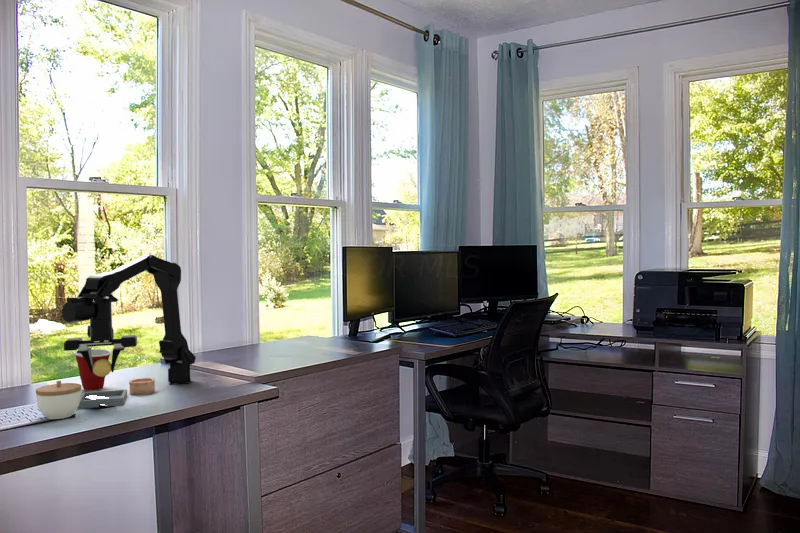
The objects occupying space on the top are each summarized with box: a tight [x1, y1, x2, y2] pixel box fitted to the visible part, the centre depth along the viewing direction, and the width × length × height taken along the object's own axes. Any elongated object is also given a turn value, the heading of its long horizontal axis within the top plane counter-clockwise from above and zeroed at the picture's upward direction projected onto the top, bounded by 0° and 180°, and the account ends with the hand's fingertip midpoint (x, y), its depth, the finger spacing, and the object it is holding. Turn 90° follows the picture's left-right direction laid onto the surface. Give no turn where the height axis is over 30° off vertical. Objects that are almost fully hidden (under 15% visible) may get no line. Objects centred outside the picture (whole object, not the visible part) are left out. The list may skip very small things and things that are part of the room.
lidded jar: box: [35, 380, 82, 420], centre depth 170 cm, size 11×11×9 cm
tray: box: [77, 389, 128, 410], centre depth 185 cm, size 12×12×2 cm
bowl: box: [128, 377, 156, 396], centre depth 198 cm, size 7×7×4 cm
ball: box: [93, 359, 112, 377], centre depth 185 cm, size 5×5×5 cm
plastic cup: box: [73, 348, 113, 391], centre depth 204 cm, size 11×11×12 cm
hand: (102, 372), depth 185 cm, fingers closed on ball, 5 cm apart
